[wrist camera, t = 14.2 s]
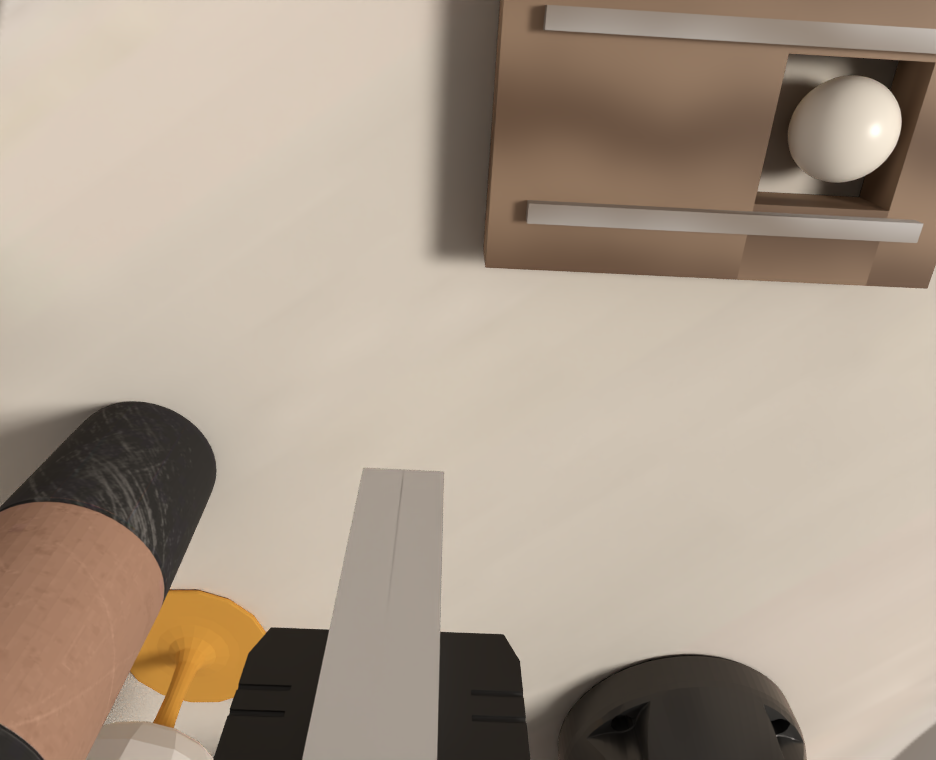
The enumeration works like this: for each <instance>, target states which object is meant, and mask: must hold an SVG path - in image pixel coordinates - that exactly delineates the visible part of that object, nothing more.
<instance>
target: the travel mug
mask: <svg viewBox="0 0 936 760" xmlns="http://www.w3.org/2000/svg"><path fill="white" fill-rule="evenodd" d="M215 479H216V461H215V457H214V454H213V451H212V449H211V446H210V445H209V443H208V441H207V439H206V438H205V437H204V435H203V434H202V433H201V432H200V431H199V429H198V428H197V427H196V426H195V425H193V424H192V423H191V422H190V421H189V420H187V419H186V418H184V417H183V416H181V415H180V414H178V413H176V412H174V411H172V410H170V409H167V408H165V407H162V406H159V405H155V404H150V403H145V402H124V403H118V404H114V405H111V406H108V407H106V408H103V409H101V410H99V411H97V412H96V413H94V414H93V415H92V416H90V417H89V418H88V419H87V420H86V421H85V422H84V423H83V424H81V425H80V426H79V427H78V428H77V429H76V430H75V431H74V432H73V433H72V434H71V435H70V436H69V437H68V438H67V439H66V440H65V441H64V442H63V443H62V444H61V445H60V447H59V448H58V449H57V450H56V451H55V452H54V453H53V454H52V455H51V456H50V457H49V458H48V459H47V460H46V461H45V462H44V463H43V464H42V465H41V466H40V467H39V468H38V469H37V470H36V471H35V472H34V473H33V474H32V475H31V476H30V477H29V478H28V479H27V480H26V481H25V482H24V483H23V484H22V485H21V486H20V487H19V488H18V489H17V490H16V491H15V492H14V493H13V495H12V496H11V497H10V498H9V499H8V500H7V501H6V502H5V503H4V504H3V505H2V506H1V507H0V760H86V758H87V756H88V754H89V752H90V750H91V748H92V746H93V744H94V742H95V740H96V738H97V736H98V734H99V732H100V730H101V728H102V726H103V724H104V722H105V720H106V718H107V716H108V714H109V712H110V710H111V708H112V706H113V704H114V702H115V700H116V698H117V696H118V694H119V692H120V690H121V688H122V686H123V684H124V682H125V680H126V678H127V676H128V674H129V672H130V670H131V668H132V666H133V664H134V662H135V660H136V658H137V656H138V654H139V652H140V650H141V648H142V646H143V644H144V642H145V640H146V638H147V636H148V634H149V632H150V630H151V628H152V626H153V624H154V622H155V620H156V618H157V616H158V614H159V611H160V609H161V607H162V605H163V603H164V600H165V598H166V596H167V593H168V591H169V589H170V587H171V584H172V582H173V580H174V577H175V575H176V573H177V571H178V568H179V566H180V564H181V561H182V559H183V557H184V555H185V552H186V550H187V548H188V545H189V543H190V541H191V539H192V536H193V534H194V532H195V529H196V527H197V525H198V523H199V520H200V518H201V516H202V513H203V511H204V509H205V507H206V504H207V502H208V499H209V497H210V495H211V492H212V490H213V487H214V483H215Z"/></svg>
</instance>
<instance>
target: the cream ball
mask: <svg viewBox="0 0 936 760" xmlns="http://www.w3.org/2000/svg"><path fill="white" fill-rule="evenodd" d="M901 123H902V120H901V111H900V108H899V105H898V102H897V100H896V99H895V97H894V95H893V94H892V93H891V92H890V90H889V89H888V88H887V87H885V86H884V85H883V84H881V83H880V82H878V81H876V80H874V79H871V78H868V77H863V76H851V75H850V76H842V77H838V78H834V79H831V80H828V81H826V82H824V83H822V84H820V85H819V86H817V87H816V88H814V89H813V90H811V91H810V92H809V93H808V94H807V95H806V96H805V97H804V98H803V99H802V100H801V102H800V103H799V104H798V106H797V107H796V109H795V111H794V113H793V115H792V117H791V120H790V123H789V128H788V146H789V150H790V153H791V155H792V157H793V159H794V161H795V162H796V164H797V165H798V166H799V167H800V168H801V169H802V170H803V171H804V172H805V173H806V174H808V175H809V176H811V177H814V178H816V179H818V180H821V181H826V182H836V183H840V182H847V181H852V180H856V179H858V178H861V177H863V176H865V175H867V174H869V173H871V172H872V171H874V170H875V169H876V168H878V167H879V166H880V165H881V164H882V163H883V162H884V161H885V160H886V159H887V158H888V157H889V155H890V154H891V153H892V151H893V150H894V148H895V146H896V144H897V141H898V138H899V135H900V131H901Z"/></svg>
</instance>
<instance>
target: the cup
mask: <svg viewBox="0 0 936 760" xmlns="http://www.w3.org/2000/svg"><path fill="white" fill-rule="evenodd" d="M265 634H266V632H265V631H264V629H263V628H262V626H261V625H260V624H259V622H258V621H257V619H256V618H255V617H254V615H252V614H251V613H249V612H248V611H246V610H245V609H243V608H242V607H240V606H239V605H237V604H236V603H234V602H233V601H231V600H229V599H227V598H223V597H220V596H216V595H213V594H210V593H206V592H203V591H199V590H169V591H168V593H167V596H166V598H165V600H164V603H163V605H162V607H161V609H160V611H159V614H158V616H157V618H156V620H155V622H154V624H153V626H152V628H151V630H150V632H149V634H148V636H147V638H146V640H145V642H144V644H143V646H142V648H141V650H140V652H139V654H138V656H137V658H136V660H135V662H134V664H133V666H132V668H131V670H130V672H131V673H132V674H133V675H134V676H135V678H136V679H137V680H138V681H140V682H141V683H143V684H145V685H146V686H148V687H150V688H152V689H153V690H155V691H157V692H158V693H160V694H162V695H165V699H164V701H163V703H162V705H161V707H160V710H159V712H158V714H157V716H156V718H155V720H154V722H153V723H151V722H114V723H110V724H106V725H103V726H102V728H101V730H100V732H99V734H98V736H97V738H96V740H95V742H94V744H93V746H92V748H91V750H90V752H89V754H88V756H87V758H86V760H213V757H212V756H211V755H210V754H209V753H208V751H207V750H206V749H205V748H204V747H203V746H202V745H201V744H200V743H199V742H198V741H196V740H194V739H193V738H191V737H189V736H187V735H186V734H184V733H182V732H180V731H179V730H177V729H175V728H174V725H175V722H176V719H177V716H178V713H179V710H180V707H181V704H182V702H183V700H184V701H188V702H221V701H224V700H227V699H230V698H233V697H234V695H235V692H236V690H238V683H239V680H240V677H241V674H242V671H243V668H244V665H245V662H246V659H247V656H248V653H249V652H250V651H251V650H252V649H253V647H254V646H255V645H256V644H257V643H258V642H259V641H260V639H261V638H262V637H263V636H264V635H265Z"/></svg>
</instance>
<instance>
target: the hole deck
mask: <svg viewBox="0 0 936 760" xmlns="http://www.w3.org/2000/svg"><path fill="white" fill-rule="evenodd" d="M789 53H790V54H806V55H823V56H839V57H856V58H872V59H889V60H899V62H898V66H897V69H896V73H895V76H894V79H893V83H892V86H891V90H890V92H891V93H892V94H893V95H894V97H895V99H896V100H897V102H898V105H899V108H900V111H901V120H902V123H901V131H900V135H899V138H898V141H897V144H896V146H895V148H894V150H893V151H892V153H891V154H890V155H889V157H888V158H887V159H886V160H885V161H884V162H883V163H882V164H881V165H880V166H879V167H878V168H876V169H875V170H874V171H872V172H871V173H869V174H867V175H865V179H864V182H863V185H862V189H861V192H860V196H859V197H848V196H829V195H810V194H791V193H772V192H757V190H758V186H759V181H760V177H761V173H762V168H763V164H764V160H765V155H766V151H767V147H768V142H769V138H770V134H771V129H772V125H773V120H774V116H775V112H776V107H777V103H778V99H779V94H780V90H781V86H782V81H783V77H784V73H785V68H786V64H787V60H788V55H789ZM483 251H484V259H485V267H486V268H507V269H528V270H549V271H570V272H591V273H612V274H633V275H654V276H675V277H696V278H717V279H738V280H759V281H780V282H801V283H822V284H843V285H864V286H885V287H906V288H928V285H929V282H930V279H931V276H932V274H933V271H934V268H935V265H936V0H500V8H499V23H498V38H497V53H496V68H495V83H494V98H493V113H492V128H491V143H490V158H489V173H488V188H487V203H486V218H485V233H484V248H483Z"/></svg>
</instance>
